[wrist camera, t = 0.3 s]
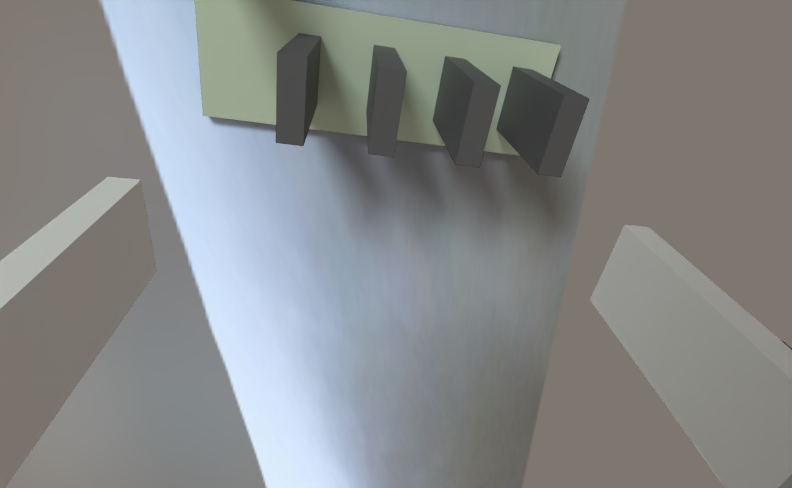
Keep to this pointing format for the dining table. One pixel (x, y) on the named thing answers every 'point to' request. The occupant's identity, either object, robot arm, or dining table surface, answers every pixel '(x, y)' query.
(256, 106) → the strip
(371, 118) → the domino
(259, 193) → the dining table surface
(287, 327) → the dining table surface
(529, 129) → the domino
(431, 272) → the dining table surface
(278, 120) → the domino
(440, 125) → the domino
